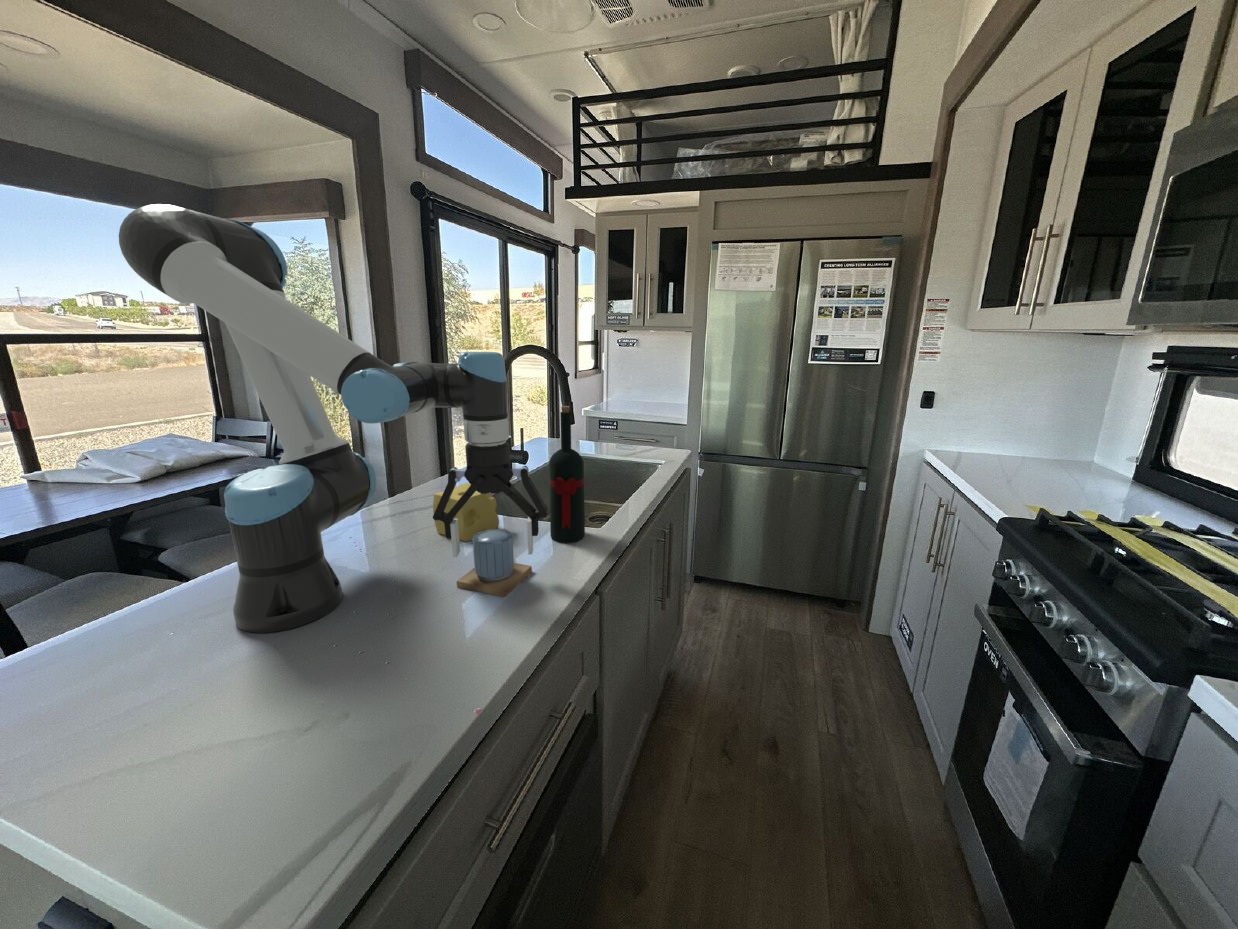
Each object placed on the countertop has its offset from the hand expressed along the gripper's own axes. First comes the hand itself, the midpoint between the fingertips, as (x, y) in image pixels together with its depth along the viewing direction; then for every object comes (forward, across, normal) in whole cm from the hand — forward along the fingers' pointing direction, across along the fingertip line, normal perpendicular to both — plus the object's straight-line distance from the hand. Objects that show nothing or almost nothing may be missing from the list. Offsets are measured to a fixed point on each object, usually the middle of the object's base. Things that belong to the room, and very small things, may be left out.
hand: (494, 552), depth 91 cm
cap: (+3, 0, 0) cm, 3 cm away
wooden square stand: (+5, 0, 0) cm, 5 cm away
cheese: (+6, -10, +24) cm, 27 cm away
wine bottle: (+6, +14, +18) cm, 23 cm away
